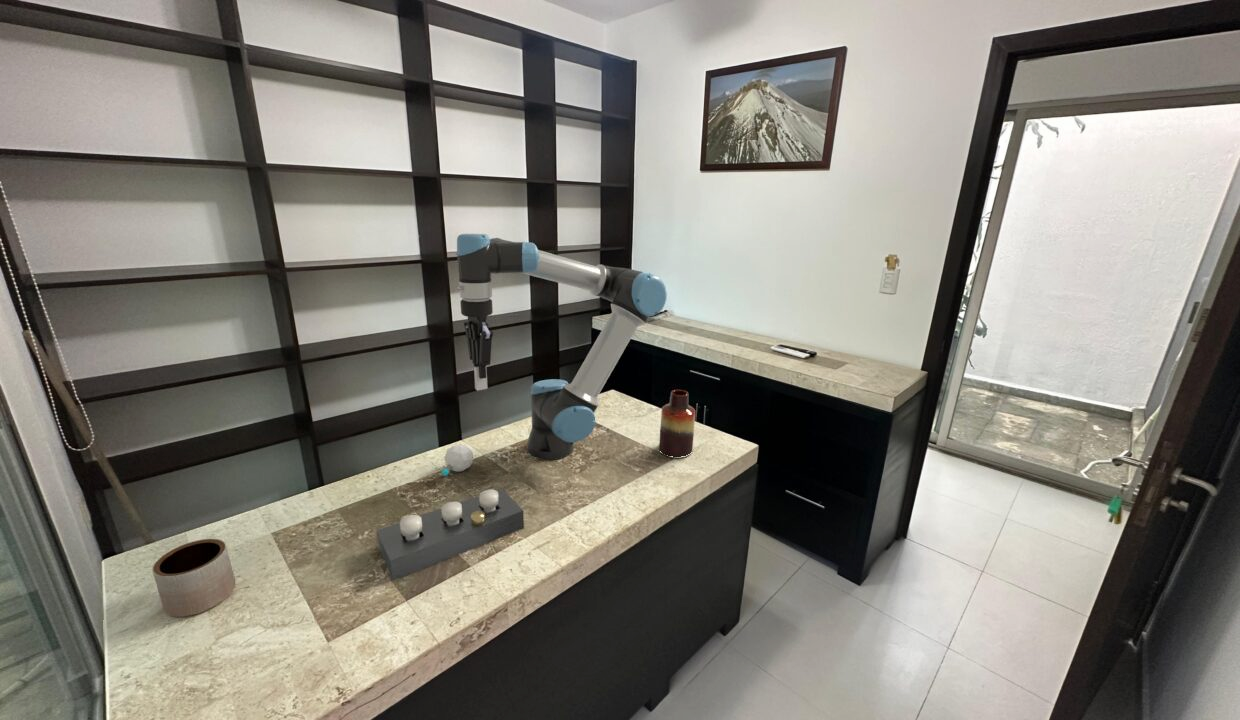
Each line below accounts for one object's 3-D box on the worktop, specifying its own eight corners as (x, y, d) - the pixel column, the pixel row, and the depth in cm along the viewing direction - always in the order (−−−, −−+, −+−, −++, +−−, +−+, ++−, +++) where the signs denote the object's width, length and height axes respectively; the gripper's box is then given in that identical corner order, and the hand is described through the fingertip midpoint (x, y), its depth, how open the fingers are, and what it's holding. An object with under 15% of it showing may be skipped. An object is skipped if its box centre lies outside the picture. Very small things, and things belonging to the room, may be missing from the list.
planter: (153, 626, 89) (140, 583, 86) (177, 585, 98) (165, 545, 95) (227, 609, 93) (216, 567, 90) (243, 571, 102) (233, 532, 100)
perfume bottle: (483, 454, 146) (462, 479, 135) (465, 464, 150) (443, 489, 139) (467, 434, 145) (444, 457, 134) (449, 445, 148) (425, 468, 137)
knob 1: (421, 542, 112) (418, 512, 110) (427, 552, 109) (424, 522, 106) (401, 549, 109) (397, 519, 107) (406, 560, 106) (402, 529, 104)
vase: (669, 439, 167) (673, 384, 161) (697, 449, 161) (702, 391, 155) (652, 451, 159) (656, 393, 153) (682, 461, 153) (686, 401, 147)
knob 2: (495, 515, 123) (493, 487, 120) (502, 523, 119) (501, 495, 117) (478, 521, 120) (476, 493, 118) (485, 530, 117) (483, 501, 114)
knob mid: (459, 528, 117) (457, 499, 115) (466, 537, 114) (464, 508, 112) (441, 534, 115) (438, 505, 112) (447, 544, 111) (445, 515, 109)
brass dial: (481, 516, 115) (481, 509, 114) (486, 522, 113) (486, 515, 112) (469, 520, 113) (468, 513, 112) (474, 527, 111) (473, 520, 110)
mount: (502, 504, 128) (501, 488, 126) (523, 528, 119) (523, 510, 117) (378, 549, 110) (376, 530, 109) (392, 580, 101) (390, 560, 100)
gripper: (451, 295, 122) (458, 384, 129) (471, 304, 113) (477, 399, 120) (480, 293, 127) (485, 379, 134) (501, 301, 117) (505, 393, 124)
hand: (481, 388), depth 127 cm, fingers closed
